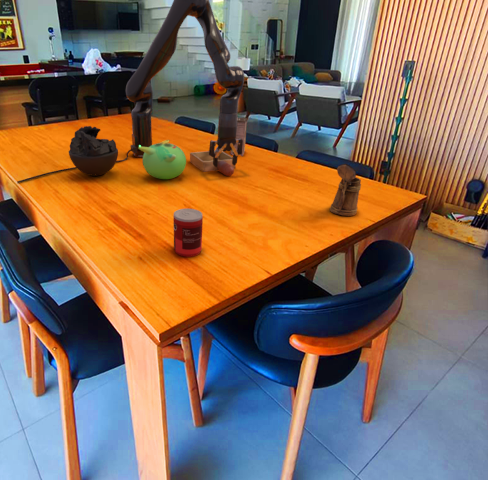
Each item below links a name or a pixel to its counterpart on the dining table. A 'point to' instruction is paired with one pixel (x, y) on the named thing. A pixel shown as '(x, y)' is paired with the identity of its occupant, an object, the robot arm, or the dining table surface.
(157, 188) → the dining table surface
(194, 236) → the canned food
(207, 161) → the brown wooden tray
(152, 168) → the toy bird
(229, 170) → the sweet potato
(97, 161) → the coal bowl
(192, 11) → the robot arm
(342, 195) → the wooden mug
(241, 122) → the coffee box
